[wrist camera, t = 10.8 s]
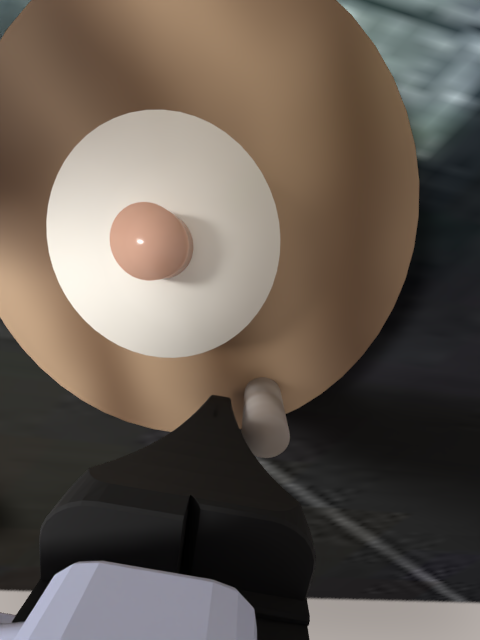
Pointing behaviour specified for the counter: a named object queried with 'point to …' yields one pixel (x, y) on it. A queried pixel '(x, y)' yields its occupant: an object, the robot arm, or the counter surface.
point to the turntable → (269, 155)
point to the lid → (163, 233)
